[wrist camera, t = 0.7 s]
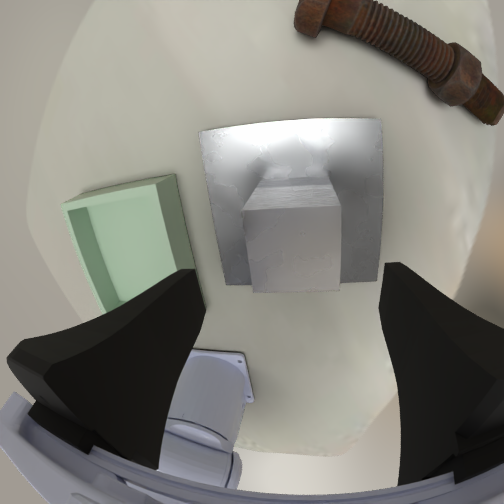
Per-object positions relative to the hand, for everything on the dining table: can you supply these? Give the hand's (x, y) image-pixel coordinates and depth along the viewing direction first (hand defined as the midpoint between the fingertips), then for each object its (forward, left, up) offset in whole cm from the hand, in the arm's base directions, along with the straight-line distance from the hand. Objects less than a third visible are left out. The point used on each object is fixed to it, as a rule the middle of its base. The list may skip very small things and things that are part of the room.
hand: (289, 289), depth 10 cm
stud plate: (0, 0, -10) cm, 10 cm away
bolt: (+11, -9, -11) cm, 18 cm away
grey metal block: (0, 0, -9) cm, 9 cm away
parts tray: (-3, +14, -10) cm, 18 cm away
